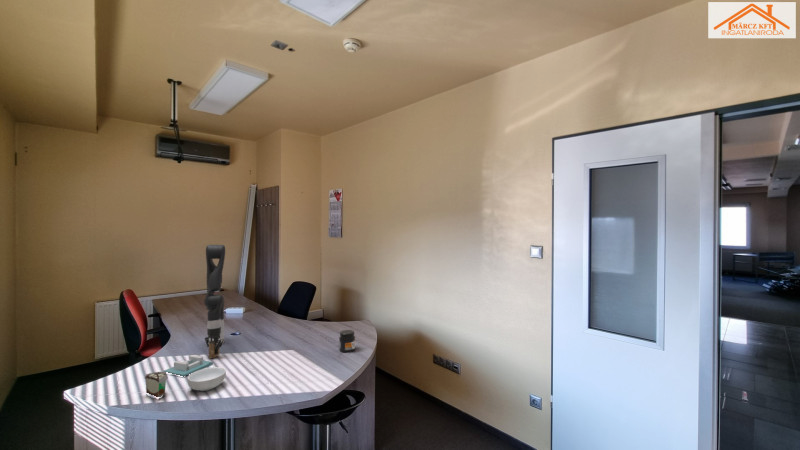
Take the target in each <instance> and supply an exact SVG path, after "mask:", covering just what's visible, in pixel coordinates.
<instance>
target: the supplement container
mask: <svg viewBox="0 0 800 450" xmlns="http://www.w3.org/2000/svg"><path fill="white" fill-rule="evenodd" d="M338 341H339V342H338V343H339V345H338V347H339V348H338V350H339V351H340V352H341V353H347V352H348V353H351V352H354V351H355V350H356V335H355V331H354V330H352V329H343V330H341V331H340V332H339V337H338ZM348 353H347V354H348Z"/></svg>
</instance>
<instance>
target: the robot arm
mask: <svg viewBox="0 0 800 450" xmlns="http://www.w3.org/2000/svg"><path fill="white" fill-rule="evenodd" d="M205 247H206V248H205V259H206V295H205V298H204V301H203V303H204V306H205V307H206V309H207V311H208V312H207V323H206V324H207V325H206V326H207V327H206V329H207V330H206V331H207V332H206V335H207V336H206V337H204V341H205V345H206V347H207V348H209V341H213V342H214V348H215V349H214V354H215V355H217V354H218V349H219V350H220V348H222V346H223V345H224V343H225V315H224V314H225V313H224V312H225V311H224V310H225V297H224V296H223V295H222V294H215V293H216V292H218V291H220V290H221V289H222V284H223V270H224V264H225V257H226V247H225V245H224V244H208V245H206V246H205ZM217 259H218V263H217V265H216V264H215V263H214V260H217ZM215 343H216V344H215ZM216 345H217V347H216Z"/></svg>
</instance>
